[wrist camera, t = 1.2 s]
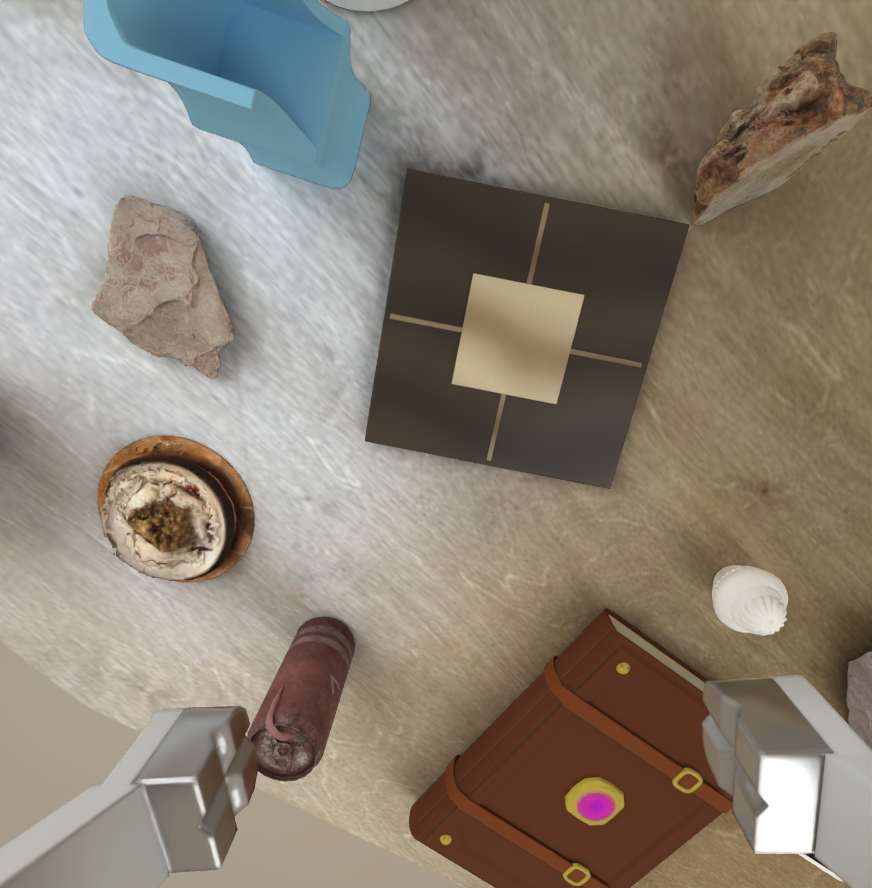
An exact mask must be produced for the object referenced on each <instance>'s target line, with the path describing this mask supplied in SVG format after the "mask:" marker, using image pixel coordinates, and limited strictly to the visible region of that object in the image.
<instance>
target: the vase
mask: <svg viewBox="0 0 872 888" xmlns="http://www.w3.org/2000/svg"><path fill="white" fill-rule="evenodd" d="M84 28H85V33H86V36H87V38H88V39H89V41H90V43H91V44H92V46H93V47H94V49H95V50H96V52H97V53H98V54H99V55H101V56H102V57H103V58H105V59H107V60H109V61H111V62H113V63H115V64H118V65H120V66H123V67H125V68H128V69H131V70H134V71H136V72H139V73H142V74H145V75H148V76H151V77H154V78H157V79H160V80H163V81H166V82H168V83H169V84H170V85H171V86H172V87H173V89H174V90H175V91H176V92H177V93H178V95H179V97H180V98H181V100H182V101H183V103H184V106H185V108H186V110H187V112H188V115H189V118H190V120H191V123H192V125H194V126H195V127H197V128H199V129H201V130H204V131H207V132H210V133H213V134H216V135H219V136H222V137H225V138H228V139H231V140H234V141H237V142H239V143H240V144H242V145H243V146H244V147H245V148H246V150H247V151H248V152H249V154H250V156H251V159H252V161H253V163H256V164H259V165H262V166H265V167H268V168H271V169H274V170H277V171H280V172H283V173H286V174H289V175H292V176H295V177H298V178H301V179H304V180H307V181H310V182H313V183H316V184H320V185H323V186H326V187H330V188H341V187H343V186H345V185H347V184H348V183H349V182H350V180H351V178H352V175H353V171H354V167H355V163H356V159H357V155H358V151H359V147H360V143H361V139H362V134H363V130H364V126H365V122H366V118H367V114H368V110H369V105H370V95H369V92H368V91H367V89H366V87H365V86H364V85H363V84H362V83H361V82H359V81H358V80H357V79H356V77H355V75H354V73H353V71H352V67H351V62H350V32H351V29H350V27H349V25H348V22H347V21H346V20H344V19H342V18H341V17H339V16H337V15H335V14H334V13H332V12H331V11H329V10H328V9H326V8H325V7H323V6H322V5H321V4H320V3H319V2H318V1H317V0H84Z"/></svg>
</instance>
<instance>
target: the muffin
mask: <svg viewBox="0 0 872 888" xmlns="http://www.w3.org/2000/svg"><path fill="white" fill-rule="evenodd" d="M712 601H713V607H714V611H715V613H716V615H717V617H718V618H719V619H720V621H721V622H722V623H724V624H725V625H726V626H728V627H729V628H731V629H733V630H736V631H739V632H743V633H754V634H759V635H762V636H765V635H772V634H774V632H775V631H779V630H780V627H783V626H784V623H783V622H785V621H786V620H787V618H786V617H785V616H786V614H787V611H786V608H787V605H788V594H787V590H786V588H785V586H784V584H783V583H782V581H781V580H780V579H779V578H778V577H776V576H775V575H773V574H772V573H770V572H768V571H765V570H762V569H759V568H756V567H752V566H741V565H732V566H727V567H724V568H721V570H719V571H718V573H716V575H715V578H714V580H713V588H712Z"/></svg>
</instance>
